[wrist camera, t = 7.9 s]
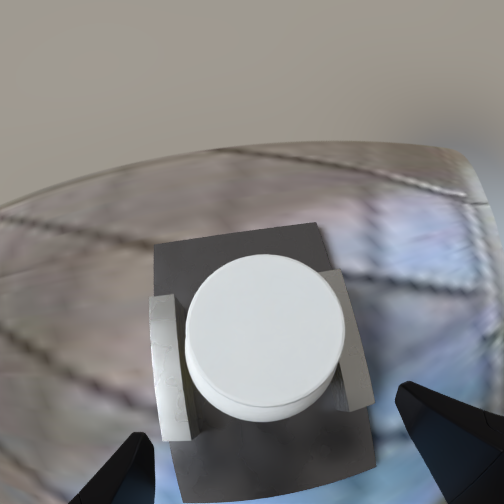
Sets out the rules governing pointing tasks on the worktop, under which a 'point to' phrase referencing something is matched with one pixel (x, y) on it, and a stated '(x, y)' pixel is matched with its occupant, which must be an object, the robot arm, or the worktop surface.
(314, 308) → the supplement bottle
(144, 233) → the worktop surface
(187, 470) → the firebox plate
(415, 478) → the worktop surface
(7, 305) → the worktop surface
